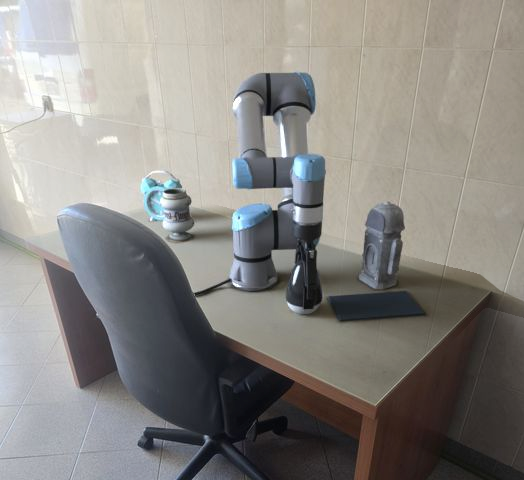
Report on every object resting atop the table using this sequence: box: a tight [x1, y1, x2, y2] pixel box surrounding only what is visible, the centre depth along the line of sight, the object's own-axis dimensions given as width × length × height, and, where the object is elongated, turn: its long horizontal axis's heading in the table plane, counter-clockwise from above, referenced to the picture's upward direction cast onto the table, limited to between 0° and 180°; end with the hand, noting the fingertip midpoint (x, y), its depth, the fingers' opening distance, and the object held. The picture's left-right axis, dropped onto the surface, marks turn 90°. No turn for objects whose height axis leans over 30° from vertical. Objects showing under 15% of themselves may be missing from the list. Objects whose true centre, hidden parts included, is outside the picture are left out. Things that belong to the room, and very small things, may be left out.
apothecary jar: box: [160, 187, 195, 243], centre depth 178 cm, size 12×12×18 cm
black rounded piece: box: [285, 260, 323, 315], centre depth 128 cm, size 10×10×15 cm
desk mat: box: [327, 290, 426, 322], centre depth 133 cm, size 24×14×1 cm, turn 97°
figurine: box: [358, 201, 406, 290], centre depth 140 cm, size 10×14×25 cm
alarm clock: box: [140, 169, 183, 222], centre depth 196 cm, size 17×10×20 cm, turn 80°
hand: (304, 299), depth 130 cm, fingers closed on black rounded piece, 10 cm apart
